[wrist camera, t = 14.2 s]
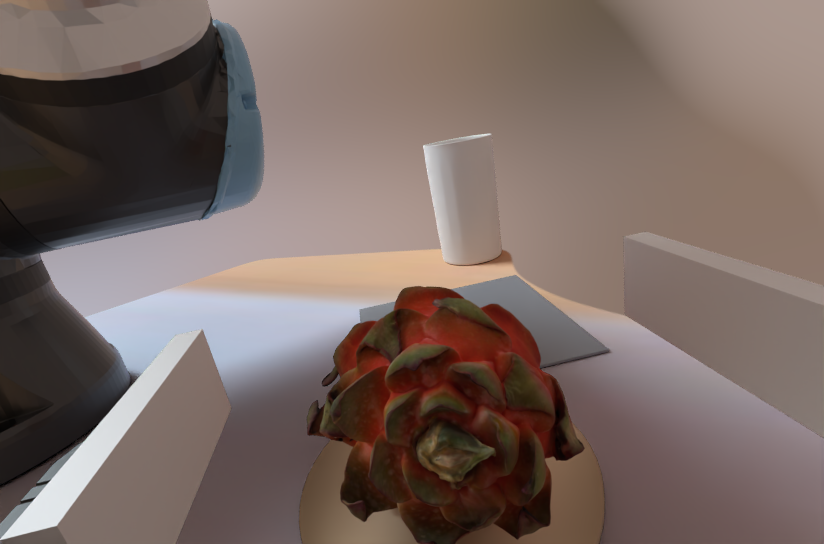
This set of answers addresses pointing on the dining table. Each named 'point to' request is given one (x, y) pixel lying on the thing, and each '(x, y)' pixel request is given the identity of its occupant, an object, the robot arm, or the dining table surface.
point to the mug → (465, 198)
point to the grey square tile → (524, 318)
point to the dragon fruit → (446, 418)
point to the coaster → (392, 540)
